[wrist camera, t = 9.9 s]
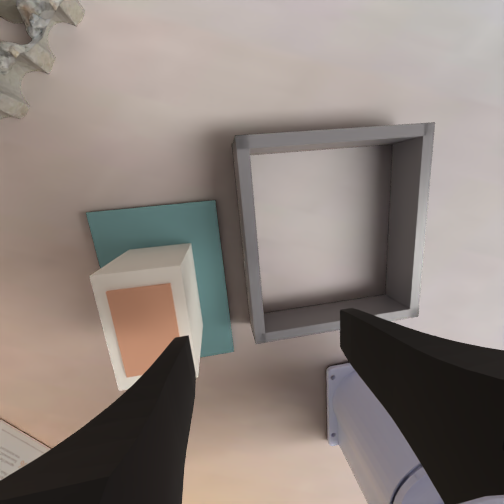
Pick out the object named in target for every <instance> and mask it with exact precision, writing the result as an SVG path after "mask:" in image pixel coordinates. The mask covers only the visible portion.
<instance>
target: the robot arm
mask: <svg viewBox="0 0 504 504" xmlns="http://www.w3.org/2000/svg"><path fill="white" fill-rule="evenodd" d="M340 347H341V349H342V351H343V352H344V354H345V356H346V358H347V359H348V361H349V363H346V364H341V365H335V366H331V367H329V368H328V369H327V371H326V379H327V437H328V443H329V445H331V446H335V445H339V446H340V448H341V450H342V452H343V454H344V456H345V458H346V460H347V462H348V464H349V466H350V468H351V470H352V472H353V474H354V476H355V478H356V480H357V482H358V484H359V486H360V488H361V490H362V493H363V495H364V497H365V499H366V501H367V503H368V504H504V350H497V349H491V348H485V347H480V346H475V345H470V344H465V343H460V342H456V341H452V340H448V339H444V338H440V337H436V336H433V335H429V334H426V333H422V332H419V331H416V330H413V329H410V328H407V327H404V326H401V325H398V324H396V323H393V322H390V321H388V320H385V319H382V318H380V317H377V316H374V315H372V314H369V313H366V312H364V311H361V310H358V309H354V308H348V309H342V310H340ZM331 376H332V377H331ZM195 382H196V372H195V367H194V362H193V356H192V351H191V346H190V340H189V335H187V336H181V337H175V338H174V339H173V340H172V341H171V343H170V344H169V345H168V346H167V347H166V349H165V350H164V351H163V352H162V353H161V355H160V356H159V357H158V358H157V359H156V361H155V362H154V363H153V364H152V365H151V366H150V367H149V368H148V370H147V371H146V372H145V373H144V374H143V375H142V376H141V377H140V378H139V379H138V380H137V381H136V382H135V383H134V384H133V385H132V386H131V387H130V388H129V389H128V390H127V391H126V392H125V393H124V394H123V395H122V396H120V397H119V398H118V399H117V400H116V401H115V402H114V403H113V404H111V405H110V406H109V407H108V408H107V409H105V410H104V411H103V412H101V413H100V414H99V415H98V416H96V417H95V418H94V419H93V420H91V421H90V422H89V423H87V424H86V425H85V426H84V427H82V428H81V429H80V430H78V431H77V432H75V433H74V434H72V435H71V436H70V437H68V438H67V439H65V440H64V441H62V442H61V443H59V444H58V445H57V446H55V447H54V448H52V449H51V450H49V451H48V452H46V453H44V454H43V455H41V456H40V457H38V458H37V459H35V460H33V461H32V462H30V463H28V464H27V465H25V466H23V467H22V468H20V469H18V470H17V471H15V472H13V473H12V474H10V475H9V476H7V477H5V478H4V479H2V480H0V504H182V492H183V478H184V465H185V457H186V449H187V443H188V437H189V431H190V424H191V418H192V412H193V405H194V399H195Z"/></svg>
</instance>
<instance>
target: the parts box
mask: <svg viewBox="0 0 504 504" xmlns="http://www.w3.org/2000/svg"><path fill="white" fill-rule="evenodd" d="M89 277H90V281H91V285H92V289H93V293H94V297H95V301H96V304H97V308H98V312H99V316H100V320H101V324H102V328H103V332H104V335H105V339H106V343H107V347H108V351H109V355H110V359H111V363H112V366H113V370H114V374H115V378H116V382H117V386H118V390H119V391H121V390H127V389H129V388H130V387H131V386H132V385H133V384H134V383H135V382H136V381H137V380H138V379H139V378H140V377H141V376H142V375H143V374H144V373H145V372H146V371H147V370H148V368H149V367H150V366H151V365H152V364H153V363H154V362H155V361H156V359H157V358H158V357H159V356H160V355H161V353H162V352H163V351H164V350H165V349H166V347H167V346H168V345H169V344H170V343H171V341H172V340H173V339H174V338H175V337H181V336H187V335H189V340H190V346H191V351H192V356H193V362H194V367H195V372H196V378H197V377H198V374H199V363H200V352H201V342H202V331H203V321H202V315H201V308H200V301H199V294H198V287H197V280H196V273H195V266H194V259H193V252H192V245H191V243H186V244H177V245H167V246H158V247H148V248H139V249H130V250H128V251H126V252H125V253H123V254H122V255H120V256H119V257H117V258H116V259H114V260H113V261H111V262H110V263H108V264H107V265H105V266H104V267H102V268H101V269H99V270H98V271H96V272H95V273H93V274H92V275H90V276H89Z"/></svg>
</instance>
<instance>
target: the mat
mask: <svg viewBox="0 0 504 504" xmlns="http://www.w3.org/2000/svg"><path fill="white" fill-rule="evenodd" d="M86 215H87V219H88V223H89V226H90V230H91V234H92V238H93V242H94V246H95V250H96V254H97V258H98V262H99V266H100V269H101V268H102V267H104V266H105V265H107V264H108V263H110V262H111V261H113V260H114V259H116V258H117V257H119V256H120V255H122V254H123V253H125V252H126V251H128V250H130V249H139V248H148V247H158V246H167V245H177V244H186V243H191V245H192V252H193V259H194V266H195V273H196V280H197V287H198V294H199V301H200V308H201V315H202V321H203V331H202V342H201V352H200V357H206V356H212V355H217V354H223V353H229V352H234V347H233V339H232V331H231V323H230V315H229V307H228V299H227V291H226V283H225V275H224V267H223V259H222V251H221V243H220V235H219V227H218V219H217V211H216V203H215V200H211V201H201V202H190V203H180V204H170V205H159V206H149V207H138V208H128V209H118V210H107V211H97V212H87V213H86Z"/></svg>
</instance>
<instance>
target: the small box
mask: <svg viewBox="0 0 504 504" xmlns="http://www.w3.org/2000/svg"><path fill="white" fill-rule="evenodd" d="M49 450H51V448H49V447H47V446H45V445H44V444H42V443H40V442H39V441H37V440H35V439H34V438H32V437H30V436H29V435H27V434H25V433H23V432H22V431H20V430H18V429H17V428H15V427H13V426H11V425H10V424H8V423H6V422H5V421H3V420H0V480H2V479H4V478H5V477H7V476H9V475H10V474H12V473H13V472H15V471H17V470H18V469H20V468H22V467H23V466H25V465H27V464H28V463H30V462H32V461H33V460H35V459H37V458H38V457H40V456H41V455H43V454H44V453H46V452H48V451H49Z"/></svg>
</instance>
